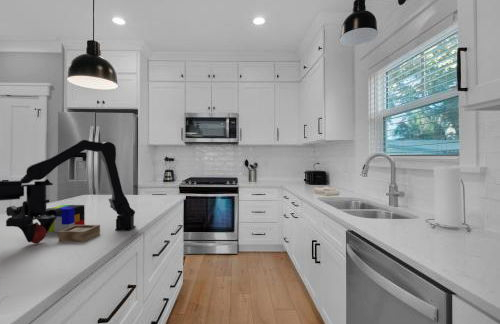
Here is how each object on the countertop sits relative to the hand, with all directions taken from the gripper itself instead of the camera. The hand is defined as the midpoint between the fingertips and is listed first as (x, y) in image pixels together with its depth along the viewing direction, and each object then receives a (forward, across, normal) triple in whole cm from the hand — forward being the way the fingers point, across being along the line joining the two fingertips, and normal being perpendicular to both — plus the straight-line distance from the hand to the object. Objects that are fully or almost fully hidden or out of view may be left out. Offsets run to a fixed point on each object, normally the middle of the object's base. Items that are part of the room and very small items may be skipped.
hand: (36, 239), depth 96 cm
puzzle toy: (+2, -21, -4) cm, 21 cm away
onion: (+2, 0, 0) cm, 2 cm away
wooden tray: (+2, -8, +11) cm, 14 cm away
